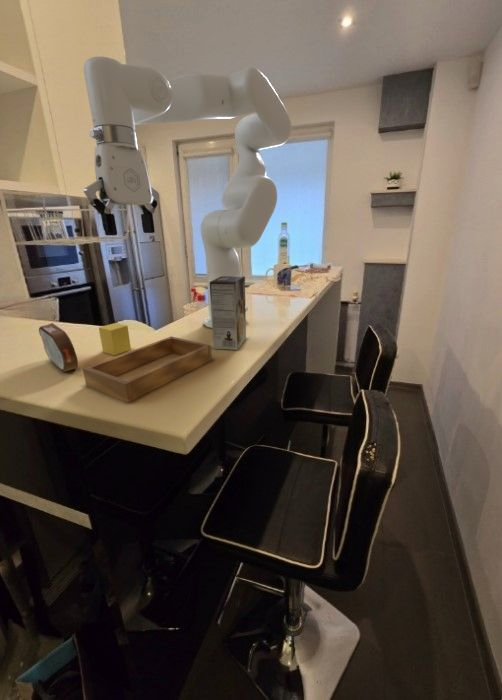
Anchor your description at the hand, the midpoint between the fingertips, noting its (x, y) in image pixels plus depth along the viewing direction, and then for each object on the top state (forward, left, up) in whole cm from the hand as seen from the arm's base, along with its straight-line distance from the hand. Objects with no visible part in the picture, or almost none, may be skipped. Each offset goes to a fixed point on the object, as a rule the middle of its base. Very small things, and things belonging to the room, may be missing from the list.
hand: (131, 234), depth 70 cm
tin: (+17, -7, -26) cm, 32 cm away
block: (+5, -4, -26) cm, 27 cm away
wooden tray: (+9, +13, -26) cm, 30 cm away
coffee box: (-13, +16, -26) cm, 33 cm away
